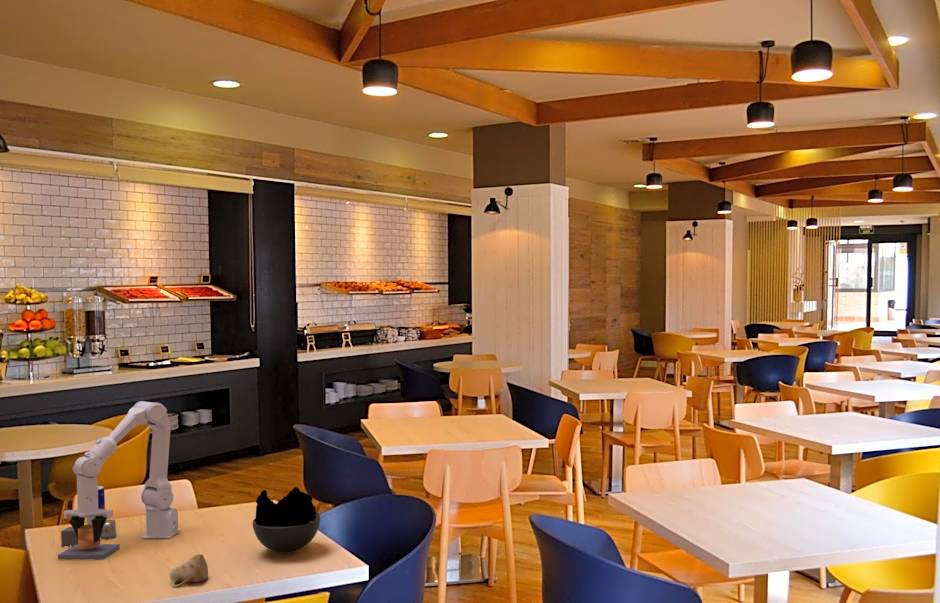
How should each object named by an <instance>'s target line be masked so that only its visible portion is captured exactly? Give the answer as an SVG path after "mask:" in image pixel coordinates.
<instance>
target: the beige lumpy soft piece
mask: <svg viewBox="0 0 940 603" xmlns="http://www.w3.org/2000/svg"><path fill="white" fill-rule="evenodd" d="M208 568H209V567H208V563H207V561H206V559H205V557H204V555H203V554H195V555H193V556H191V557H189V559H187V560H185V562H183V563H182V564H181V565H179V566H176V567H174V568H172V569H171V570H170V571H169V579H170V580H171V584H170V586H171V587H172V588H180V587H183V586H185V585H186V584H188V583H189V582H191V583H199V582H203V581H205V580H208V578H209V569H208ZM177 583H178V584H177Z"/></svg>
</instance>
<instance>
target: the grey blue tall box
mask: <svg viewBox="0 0 940 603" xmlns="http://www.w3.org/2000/svg"><path fill="white" fill-rule="evenodd" d="M105 496H106V495H105V487H104V486H101V485H98V509H106V504H105V503H106V500H105V499H106V498H105ZM94 518H95V517H86V525H92V522H91V520H93V519H94Z"/></svg>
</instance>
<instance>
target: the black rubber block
mask: <svg viewBox="0 0 940 603" xmlns="http://www.w3.org/2000/svg"><path fill="white" fill-rule="evenodd" d="M60 532H61V533H60V534H61V536H60V537H61V538H60V539H61V541H60V542H61V547H62V546H70V545H71V546H74V545H76V544H78V539H77V536H76V533H75V531H74V529H73V527H72V526H68V527H66V528H64V529H62V530H61V531H60Z"/></svg>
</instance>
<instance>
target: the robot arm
mask: <svg viewBox="0 0 940 603" xmlns="http://www.w3.org/2000/svg"><path fill="white" fill-rule="evenodd" d="M142 425H147V426H148V427H149V428H150V429H151V430H152V434H151V438H152V439H151V450H150V462H149V463H150V464H149V475H148V476H149V478H148V479H147V480H146V481H145V483H144V487H143V491H142V492H141V494H140V496H141V497H140V499H141V502H142V503H143V505H144V508H145V525H146V526H145V528H146V533H145V534H144V535H142V536H141V537H140V538H141V539H170V538H172V537H173V536H175V535H176V534H178V533H179V532H180V529H179V515H178V514H179V512H178V510H177V508H176V507H175V508H174V507H171V505H172V504H173V501H174V494H173V491H172V483H171V482H170V481H169V480H168V469H169V454H170V443H171V442H170V440H171V426H172V425H171V421H170V419H169V416H168V409H167V408H166V407H165V406H164V405H163V404H162V403H160V402H151V401H145V400H141V401H137V402H135V404H134V405H133V406H132V407H131V408H129V410H128V412H127V414H126V415H125V417H124V418H123V419H122V420H121V421H120V422H119V423H118V424H117V426H116V427H115V428H114V429H113V430H112V431H111V432H110V434H109V435H108V436H104V437H103V436H102V437H101V438H97V440H95V444H94V445H93V446H92V447H91V448H90V449H89V450H88V451H86V452H84V456H81V457H78V458H77V459H76V461H75V462H74V465H73V466H72V471H73V473H74V474H75V475H76V476H75V477H76V493H77V494H76V496H77V498H76V499H77V509H67V510H65V511H63V519H68V518H70V519H69V521H68V522H69V524H70V525H71V526H70V527H73V529H74V531H75V533H76V536H77V539H78V528H80V527H82V526H84V525H85V523H86V522H85V521H86V518H87V517H95V518H94V519H93V520H91V522H92V525H93V530H94V541H95V542H97V541H99V540H100V541H101V539H100V536H101V532H102V529H103V526H104V524H105V522H106V520H108V518H109V519H110V518H112V517H113V516H114V510H113V509H107V508H105V509H98V486H99V485H98V484H99V483H98V482H99V481H98V480H99V479H98V474H100V472H101V470H102V466H103V465H104V463H105V462H106V461H107V460H108V459H109V457H111V456H112V455H113V454H114V453H115V451H116V450H117V444H118V443H119V442H120V441H121V440H122V439H123V438H124V437H125V436H126V435H127V434H128V433H129V432H130V431H132V430H133V429H134V428H135V427H136V426H142Z"/></svg>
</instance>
